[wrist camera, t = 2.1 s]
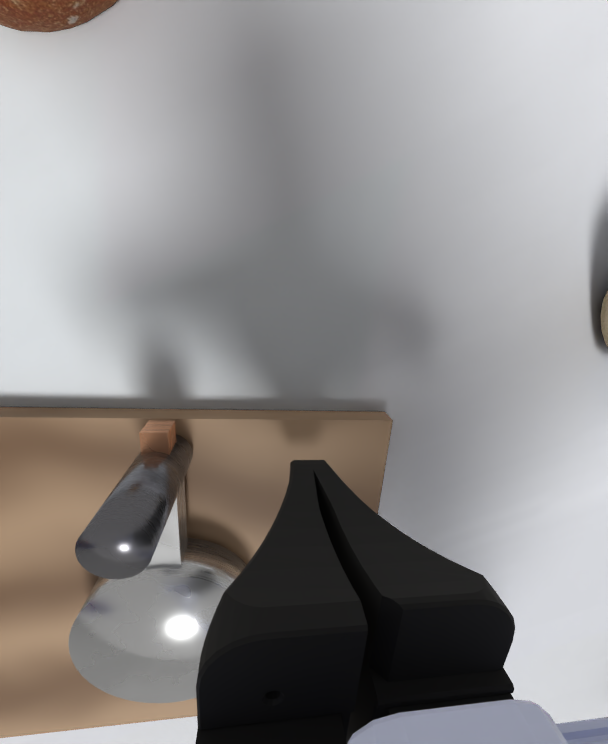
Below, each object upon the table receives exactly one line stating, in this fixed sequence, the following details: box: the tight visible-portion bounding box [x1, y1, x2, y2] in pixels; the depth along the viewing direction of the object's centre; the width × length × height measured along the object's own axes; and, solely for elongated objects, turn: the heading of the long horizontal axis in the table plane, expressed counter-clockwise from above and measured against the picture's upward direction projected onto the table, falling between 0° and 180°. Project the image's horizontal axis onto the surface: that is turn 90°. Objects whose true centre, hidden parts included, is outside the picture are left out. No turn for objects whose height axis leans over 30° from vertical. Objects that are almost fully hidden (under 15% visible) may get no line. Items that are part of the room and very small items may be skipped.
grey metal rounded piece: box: [68, 420, 247, 703], centre depth 12 cm, size 14×8×5 cm, turn 176°
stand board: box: [0, 407, 393, 738], centre depth 15 cm, size 20×23×3 cm
